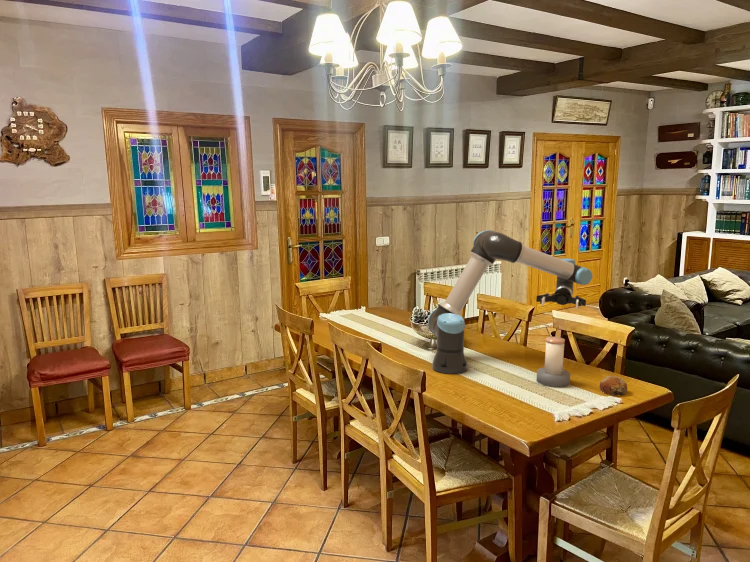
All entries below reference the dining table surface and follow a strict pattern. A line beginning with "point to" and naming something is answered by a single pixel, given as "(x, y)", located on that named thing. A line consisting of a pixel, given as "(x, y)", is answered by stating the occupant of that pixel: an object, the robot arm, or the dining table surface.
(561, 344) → the canister
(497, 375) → the dining table surface
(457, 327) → the robot arm
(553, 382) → the plinth
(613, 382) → the bread roll
